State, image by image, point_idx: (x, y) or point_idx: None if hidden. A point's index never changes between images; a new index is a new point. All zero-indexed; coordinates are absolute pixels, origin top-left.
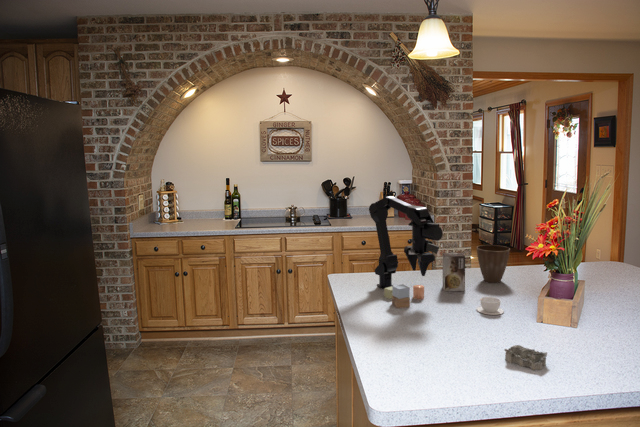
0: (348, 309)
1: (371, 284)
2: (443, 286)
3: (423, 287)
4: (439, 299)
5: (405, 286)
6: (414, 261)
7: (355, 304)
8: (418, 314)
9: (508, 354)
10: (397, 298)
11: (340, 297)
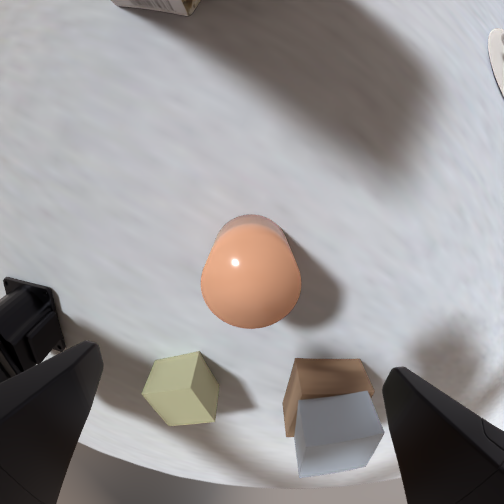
0: (268, 482)
1: None
2: (145, 3)
3: (296, 264)
4: (341, 142)
5: (353, 445)
6: (31, 446)
7: (233, 469)
8: (437, 355)
9: None
10: None
11: (154, 467)
